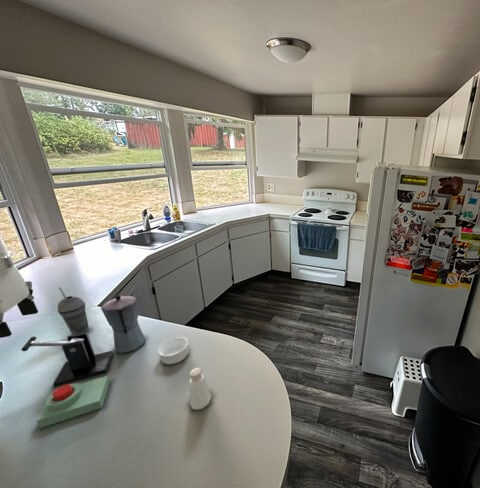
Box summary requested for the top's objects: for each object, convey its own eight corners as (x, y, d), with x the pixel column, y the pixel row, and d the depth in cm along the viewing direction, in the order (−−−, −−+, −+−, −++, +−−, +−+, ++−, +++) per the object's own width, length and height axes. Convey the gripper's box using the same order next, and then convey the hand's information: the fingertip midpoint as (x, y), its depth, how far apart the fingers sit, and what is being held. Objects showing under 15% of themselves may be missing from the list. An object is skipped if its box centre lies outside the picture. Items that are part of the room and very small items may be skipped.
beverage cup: (92, 335, 94) (76, 288, 87) (65, 342, 90) (46, 294, 83) (95, 324, 100) (80, 279, 93) (70, 330, 96) (52, 284, 89)
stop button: (51, 403, 64) (49, 398, 64) (57, 392, 67) (55, 387, 67) (70, 398, 66) (68, 393, 65) (75, 387, 69) (73, 382, 68)
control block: (40, 428, 63) (34, 415, 61) (56, 398, 70) (50, 386, 68) (101, 408, 68) (97, 395, 66) (110, 382, 75) (106, 371, 74)
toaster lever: (20, 353, 69) (21, 345, 68) (29, 341, 73) (31, 334, 72) (79, 352, 75) (80, 345, 75) (84, 341, 79) (86, 335, 79)
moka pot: (143, 328, 98) (131, 284, 91) (152, 350, 88) (139, 301, 81) (112, 340, 92) (96, 293, 85) (118, 364, 82) (101, 313, 75)
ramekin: (174, 369, 81) (171, 358, 79) (153, 361, 83) (151, 351, 82) (195, 350, 89) (193, 340, 87) (176, 343, 91) (174, 334, 90)
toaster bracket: (54, 387, 73) (40, 355, 69) (66, 365, 81) (54, 335, 77) (106, 372, 79) (95, 342, 75) (113, 353, 86) (104, 324, 82)
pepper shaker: (200, 413, 68) (195, 383, 64) (185, 406, 69) (179, 376, 65) (215, 396, 72) (211, 367, 69) (201, 390, 74) (195, 361, 70)
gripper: (-4, 254, 66) (22, 309, 72) (-73, 285, 51) (-33, 351, 57) (33, 251, 69) (56, 304, 75) (-22, 280, 53) (11, 343, 59)
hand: (17, 324), depth 66 cm, fingers open, 9 cm apart
